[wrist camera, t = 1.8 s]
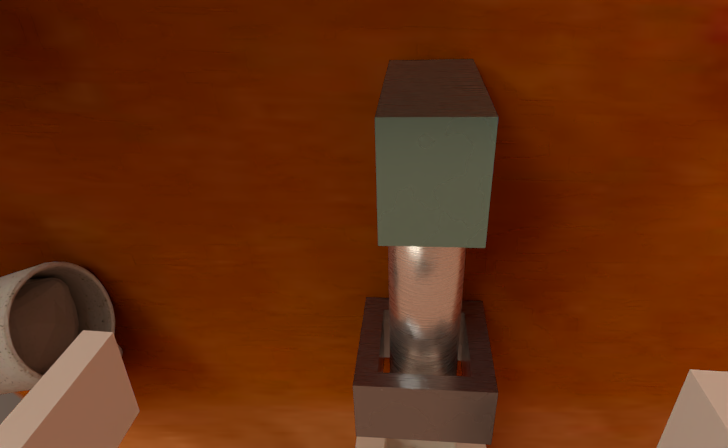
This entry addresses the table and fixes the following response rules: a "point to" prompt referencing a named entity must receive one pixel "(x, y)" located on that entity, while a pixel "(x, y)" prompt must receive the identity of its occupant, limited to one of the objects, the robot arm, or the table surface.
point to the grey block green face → (431, 201)
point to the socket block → (409, 443)
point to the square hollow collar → (425, 385)
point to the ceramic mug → (46, 319)
